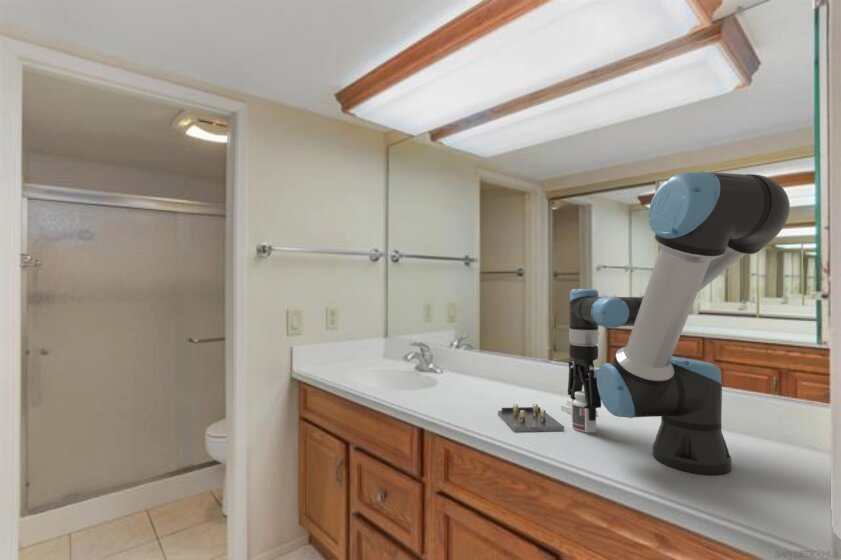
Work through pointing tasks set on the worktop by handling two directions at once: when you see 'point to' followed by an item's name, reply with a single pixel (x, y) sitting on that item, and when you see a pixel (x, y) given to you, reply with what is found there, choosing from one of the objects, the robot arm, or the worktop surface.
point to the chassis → (529, 419)
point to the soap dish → (569, 407)
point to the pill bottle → (579, 411)
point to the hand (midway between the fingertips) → (583, 426)
